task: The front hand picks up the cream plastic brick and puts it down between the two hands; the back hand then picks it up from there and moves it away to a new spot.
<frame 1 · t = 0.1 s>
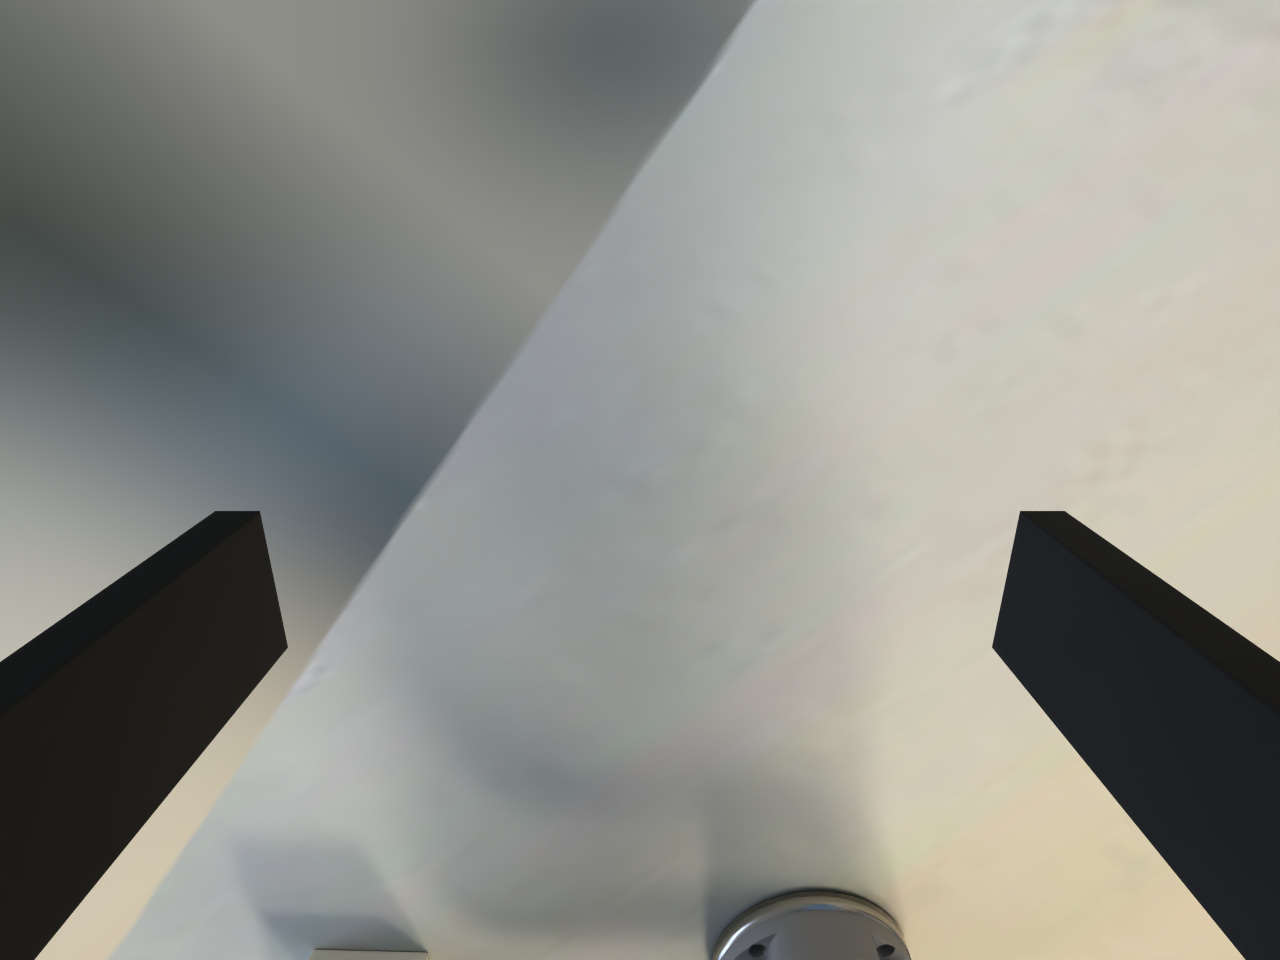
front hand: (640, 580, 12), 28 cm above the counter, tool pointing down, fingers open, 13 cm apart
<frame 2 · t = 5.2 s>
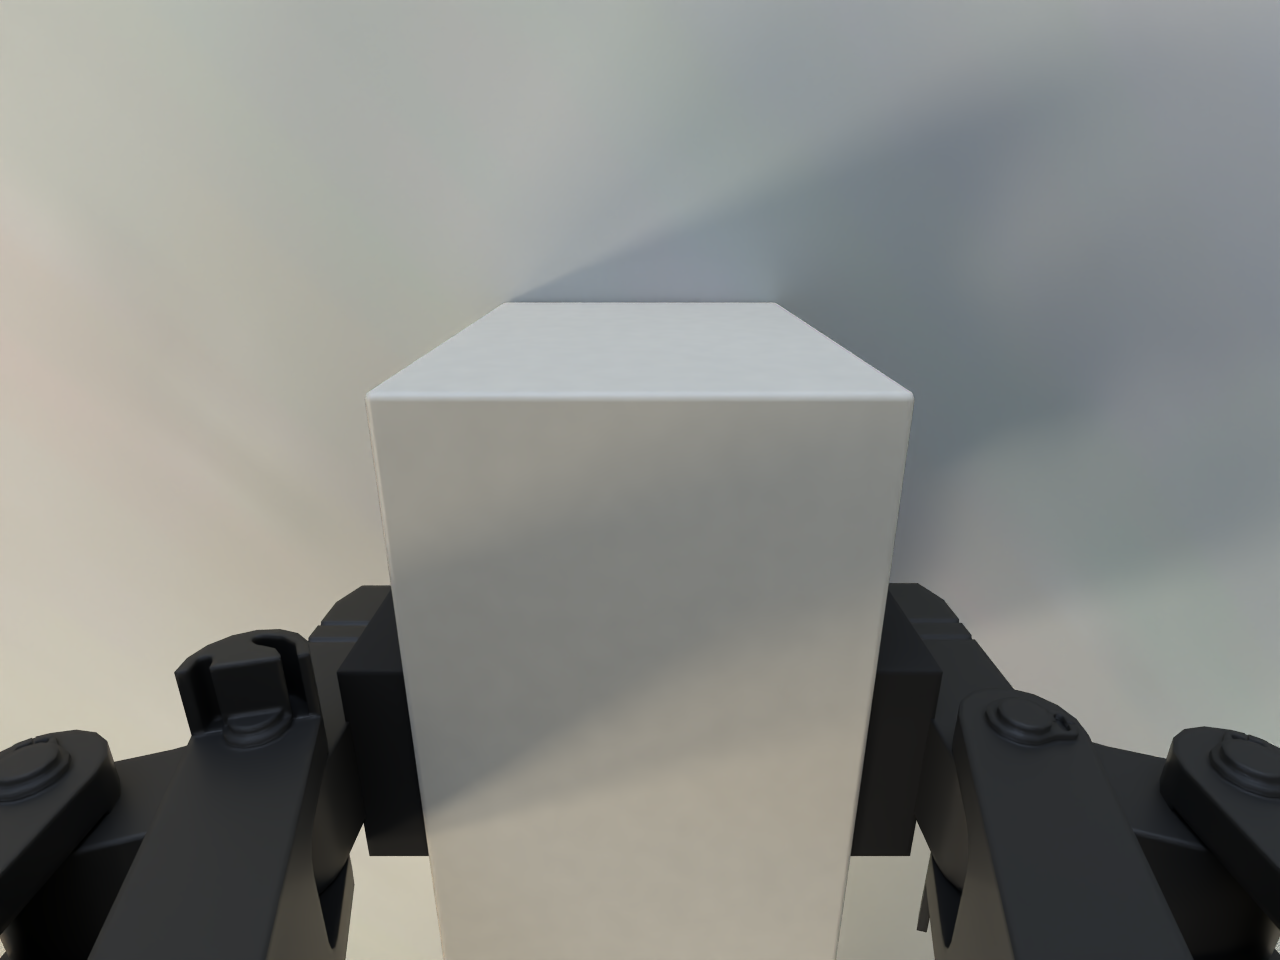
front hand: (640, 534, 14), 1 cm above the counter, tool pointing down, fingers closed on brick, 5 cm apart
brick: (639, 522, 15), on the counter, touching front hand
when the front hand's fingers open (2 cm above the counter, at t = 11.0 s): brick drops 2 cm, on the counter.
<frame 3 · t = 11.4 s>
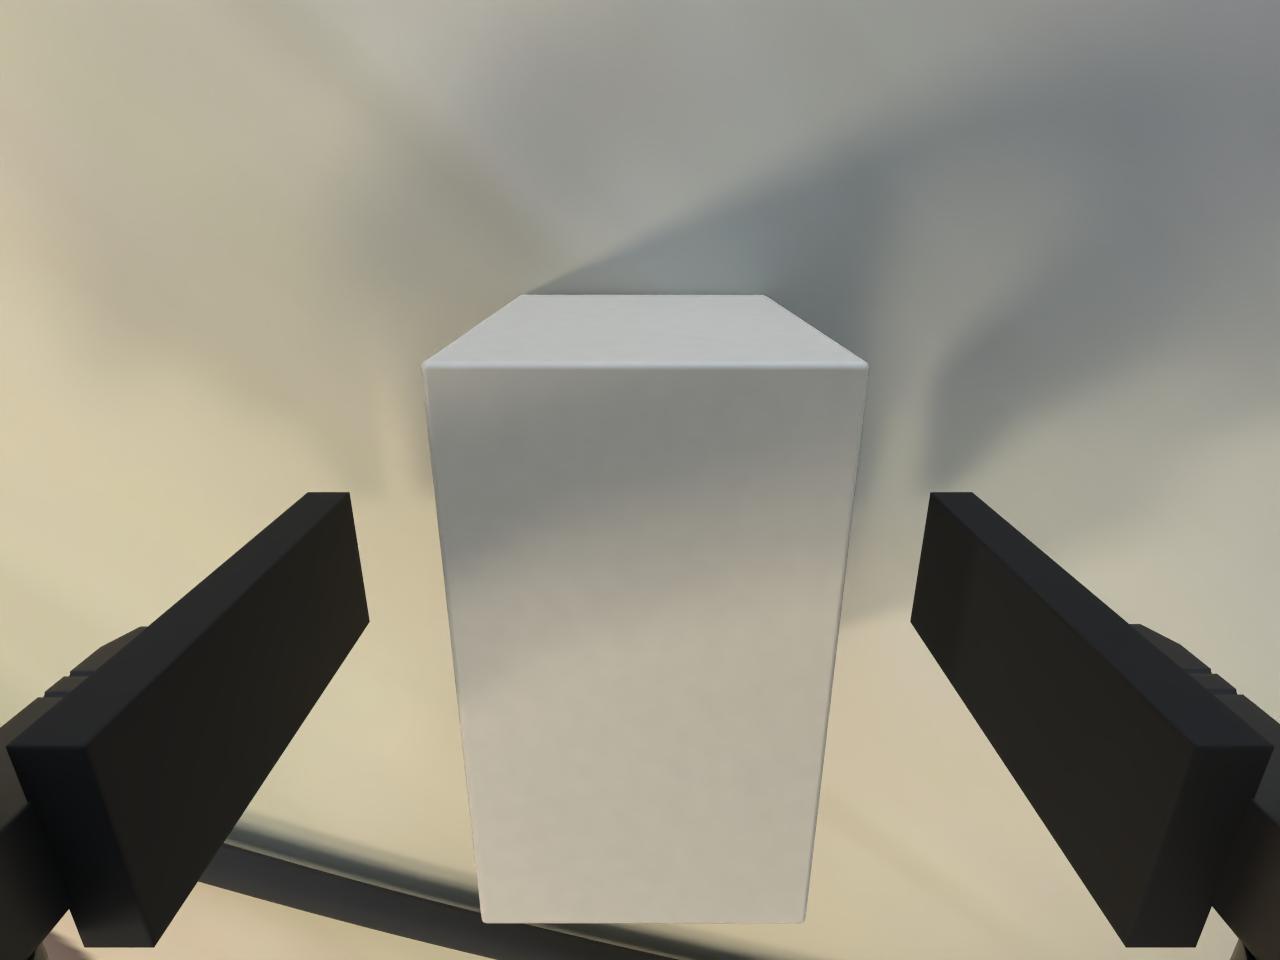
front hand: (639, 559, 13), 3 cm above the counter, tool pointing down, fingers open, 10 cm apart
brick: (642, 495, 16), on the counter
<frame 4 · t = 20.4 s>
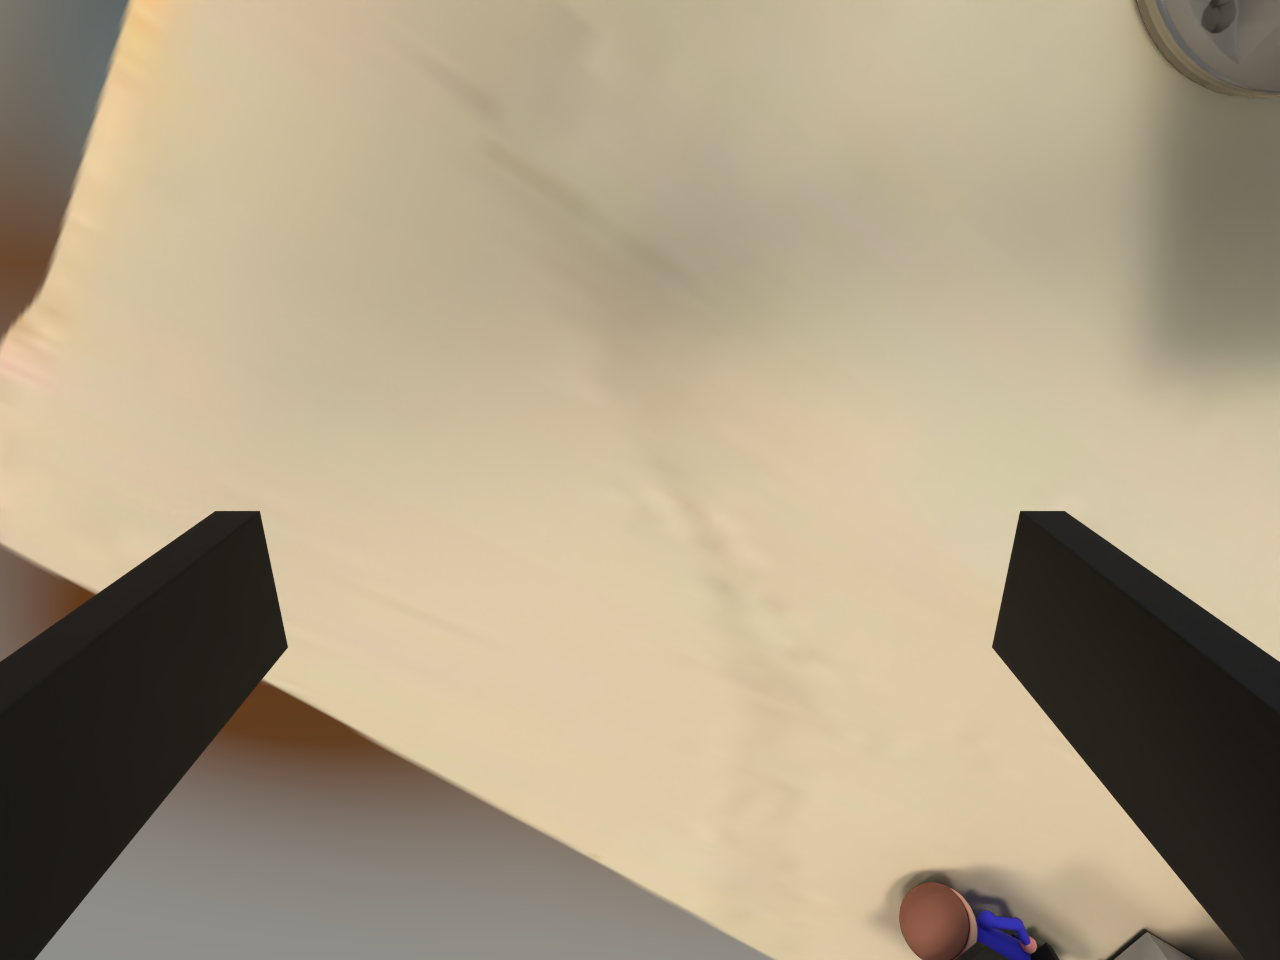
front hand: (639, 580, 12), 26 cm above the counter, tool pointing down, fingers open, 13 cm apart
figurine character: (972, 920, 52), on the counter
when the back hand's fingers open (2 cm above the counter, at t = 31.5 s): brick drops 2 cm, on the counter.
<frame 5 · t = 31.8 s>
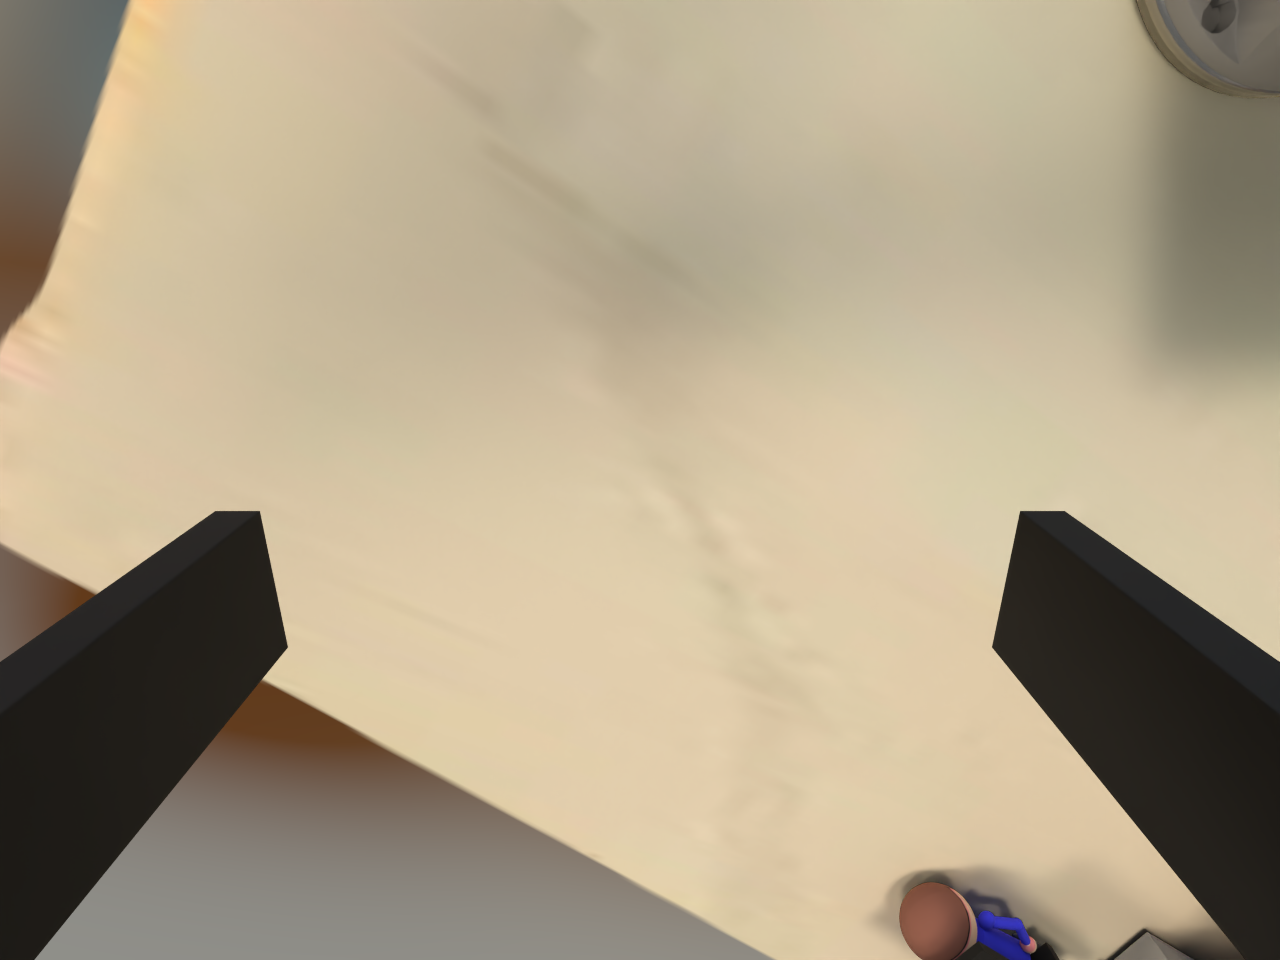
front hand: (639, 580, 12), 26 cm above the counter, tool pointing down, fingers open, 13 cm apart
figurine character: (972, 920, 52), on the counter
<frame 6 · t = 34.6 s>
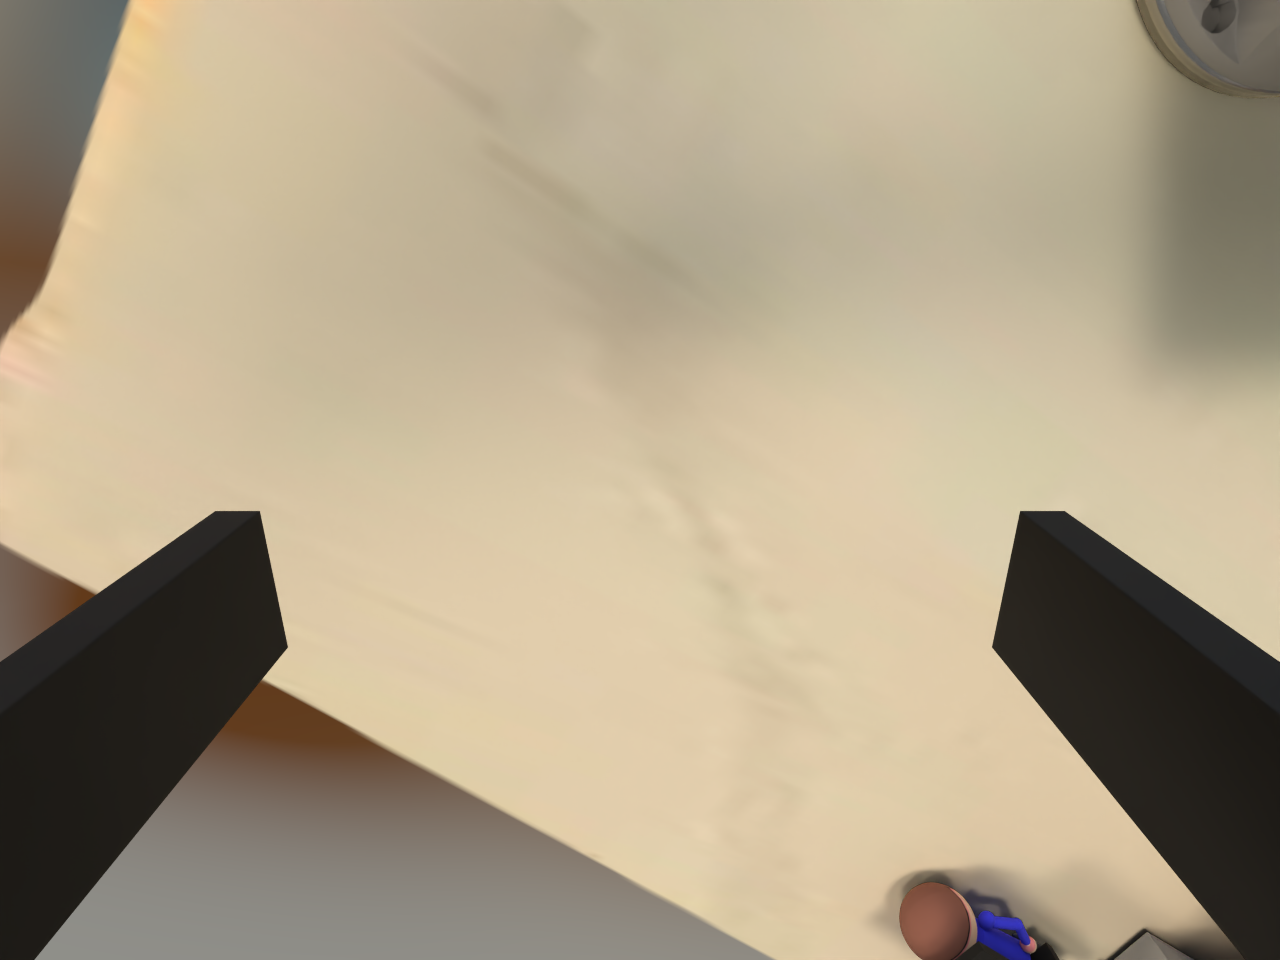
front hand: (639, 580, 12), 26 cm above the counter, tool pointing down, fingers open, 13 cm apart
figurine character: (972, 920, 52), on the counter
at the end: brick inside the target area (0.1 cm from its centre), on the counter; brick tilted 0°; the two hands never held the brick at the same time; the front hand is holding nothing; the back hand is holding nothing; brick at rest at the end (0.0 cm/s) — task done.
